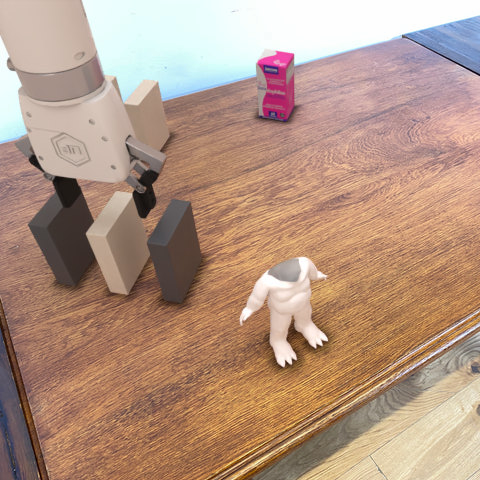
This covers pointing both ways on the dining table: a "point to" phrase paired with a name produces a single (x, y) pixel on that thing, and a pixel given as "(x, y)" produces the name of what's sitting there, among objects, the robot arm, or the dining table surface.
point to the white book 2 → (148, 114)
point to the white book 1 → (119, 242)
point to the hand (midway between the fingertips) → (110, 205)
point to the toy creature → (287, 304)
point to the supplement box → (275, 84)
